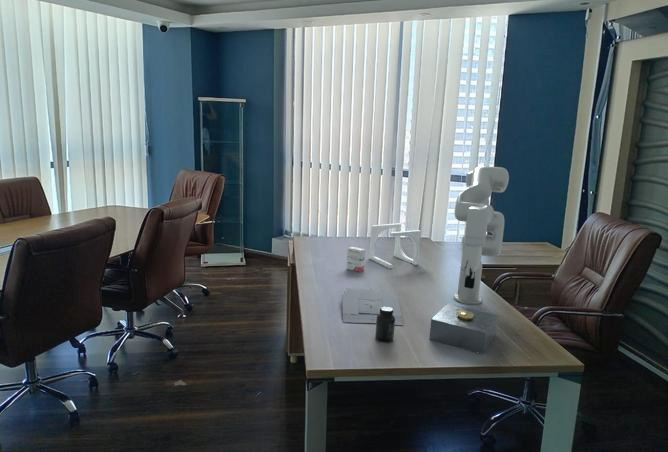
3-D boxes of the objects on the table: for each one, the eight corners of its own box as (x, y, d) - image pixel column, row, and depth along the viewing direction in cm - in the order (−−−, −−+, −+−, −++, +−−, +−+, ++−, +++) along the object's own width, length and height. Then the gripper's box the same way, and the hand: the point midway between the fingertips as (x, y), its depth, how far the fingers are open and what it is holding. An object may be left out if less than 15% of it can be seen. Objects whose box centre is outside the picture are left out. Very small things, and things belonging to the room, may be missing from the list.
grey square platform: (445, 322, 203) (448, 303, 201) (495, 334, 193) (498, 315, 192) (429, 339, 186) (431, 318, 184) (482, 354, 176) (485, 332, 175)
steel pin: (457, 331, 194) (460, 309, 191) (472, 336, 191) (475, 312, 189) (452, 337, 188) (455, 314, 186) (468, 341, 186) (471, 317, 183)
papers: (395, 296, 226) (395, 289, 225) (402, 331, 198) (403, 323, 196) (342, 293, 226) (342, 286, 225) (342, 328, 198) (342, 320, 196)
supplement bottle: (392, 335, 188) (394, 305, 185) (394, 343, 181) (397, 312, 179) (374, 334, 188) (376, 304, 185) (376, 342, 181) (378, 311, 178)
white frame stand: (417, 264, 282) (421, 230, 278) (389, 268, 272) (392, 233, 268) (396, 255, 299) (399, 223, 295) (369, 258, 289) (371, 225, 285)
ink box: (364, 270, 266) (366, 249, 264) (360, 272, 262) (361, 250, 260) (350, 266, 271) (352, 246, 268) (346, 268, 267) (347, 247, 264)
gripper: (470, 234, 190) (464, 280, 194) (458, 242, 177) (453, 290, 181) (489, 238, 186) (484, 284, 190) (479, 246, 173) (473, 295, 178)
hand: (469, 287), depth 186 cm, fingers closed
